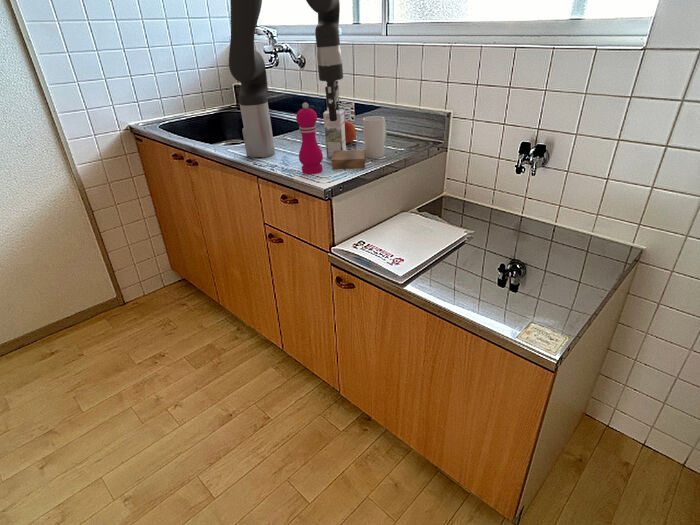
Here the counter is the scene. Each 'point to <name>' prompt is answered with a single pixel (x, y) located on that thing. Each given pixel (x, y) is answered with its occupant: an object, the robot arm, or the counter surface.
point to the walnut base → (349, 159)
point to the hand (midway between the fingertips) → (334, 118)
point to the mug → (374, 136)
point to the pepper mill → (309, 141)
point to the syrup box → (334, 133)
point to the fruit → (349, 132)
